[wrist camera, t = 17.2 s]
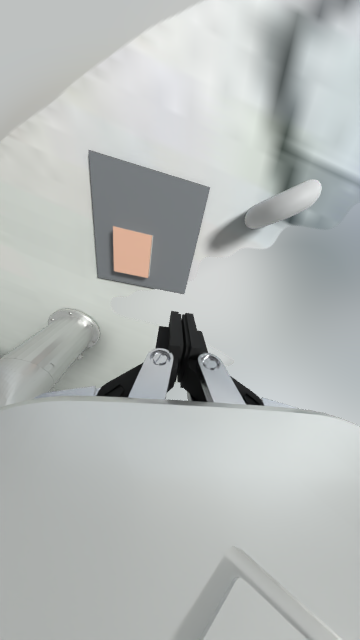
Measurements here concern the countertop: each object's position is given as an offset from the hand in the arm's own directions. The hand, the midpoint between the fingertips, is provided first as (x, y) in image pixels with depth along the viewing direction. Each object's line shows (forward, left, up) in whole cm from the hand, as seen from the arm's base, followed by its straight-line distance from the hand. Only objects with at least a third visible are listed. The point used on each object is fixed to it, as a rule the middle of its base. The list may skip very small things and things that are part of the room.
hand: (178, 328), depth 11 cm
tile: (+2, +6, -23) cm, 23 cm away
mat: (+5, +7, -24) cm, 26 cm away
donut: (+14, -14, -24) cm, 31 cm away
